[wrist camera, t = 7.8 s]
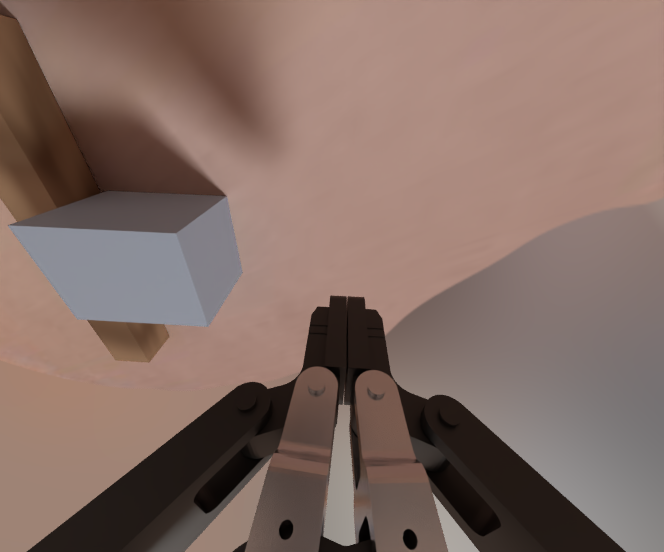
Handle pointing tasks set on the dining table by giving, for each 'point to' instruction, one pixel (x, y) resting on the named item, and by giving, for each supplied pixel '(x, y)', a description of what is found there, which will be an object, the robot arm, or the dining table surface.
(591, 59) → the dining table surface
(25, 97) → the board
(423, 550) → the robot arm
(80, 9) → the dining table surface
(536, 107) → the dining table surface
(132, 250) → the block
